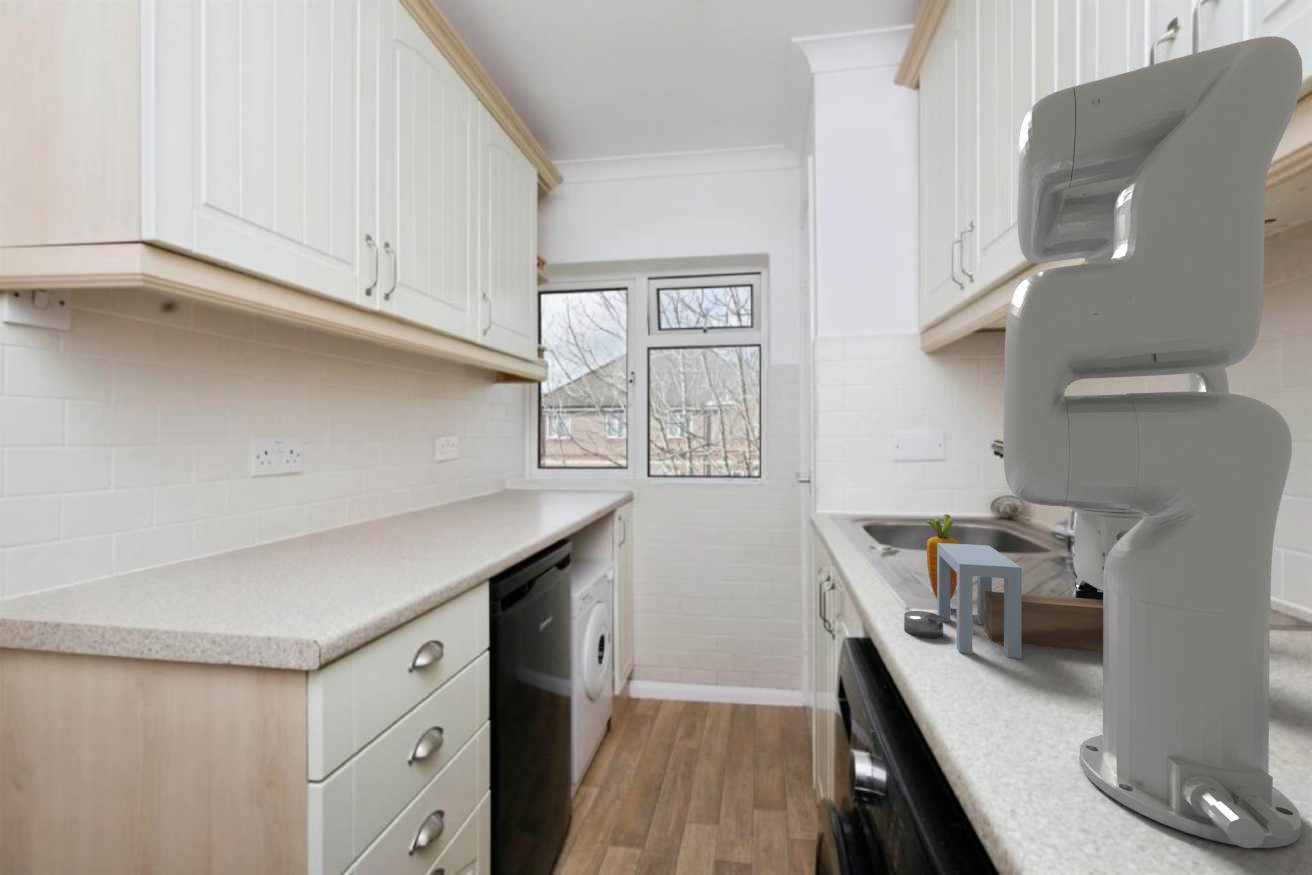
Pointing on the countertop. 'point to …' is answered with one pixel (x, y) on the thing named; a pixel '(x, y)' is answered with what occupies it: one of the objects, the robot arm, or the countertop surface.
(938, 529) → the carrot
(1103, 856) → the countertop surface
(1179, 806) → the robot arm
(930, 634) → the grey metal short cylinder
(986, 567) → the low shelf
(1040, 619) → the brown block
